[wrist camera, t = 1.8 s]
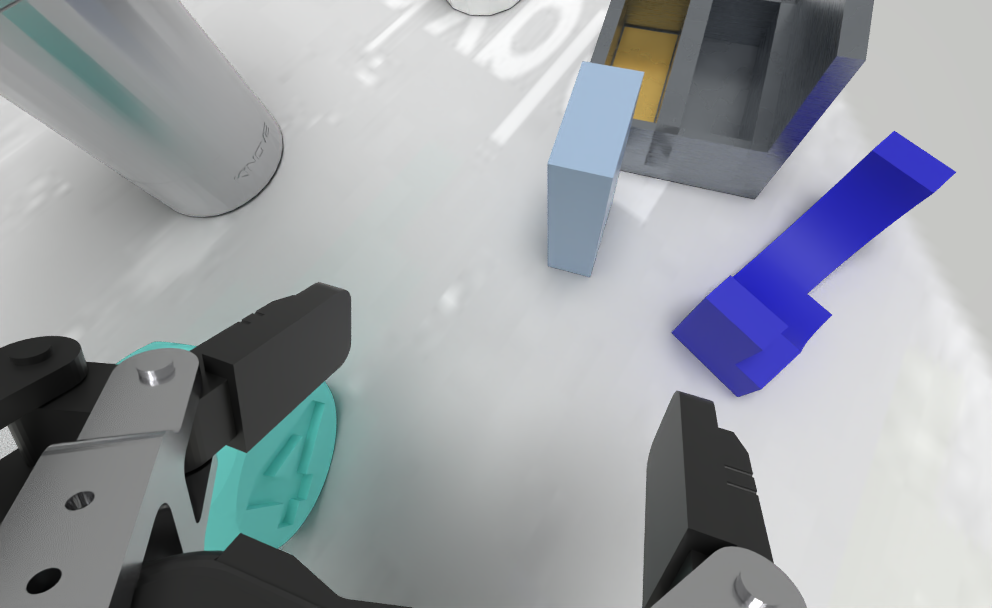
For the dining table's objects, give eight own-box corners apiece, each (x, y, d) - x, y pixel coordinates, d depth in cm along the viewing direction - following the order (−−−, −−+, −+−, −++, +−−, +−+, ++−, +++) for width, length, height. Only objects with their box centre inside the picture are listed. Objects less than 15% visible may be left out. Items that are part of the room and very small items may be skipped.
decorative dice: (351, 385, 26) (272, 356, 19) (312, 541, 24) (203, 580, 16) (223, 365, 27) (100, 331, 20) (174, 512, 25) (13, 536, 18)
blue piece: (736, 397, 24) (793, 378, 18) (670, 333, 25) (705, 297, 20) (891, 253, 26) (989, 194, 20) (821, 199, 27) (894, 130, 21)
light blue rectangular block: (547, 266, 27) (547, 163, 18) (571, 192, 28) (582, 61, 19) (590, 277, 27) (612, 178, 17) (612, 202, 28) (644, 71, 19)
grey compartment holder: (569, 159, 29) (579, 16, 20) (611, 31, 32) (638, -148, 23) (754, 199, 27) (865, 60, 18) (782, 58, 30) (891, -127, 20)
